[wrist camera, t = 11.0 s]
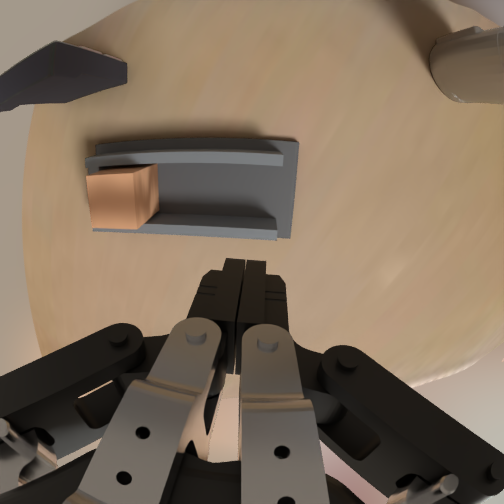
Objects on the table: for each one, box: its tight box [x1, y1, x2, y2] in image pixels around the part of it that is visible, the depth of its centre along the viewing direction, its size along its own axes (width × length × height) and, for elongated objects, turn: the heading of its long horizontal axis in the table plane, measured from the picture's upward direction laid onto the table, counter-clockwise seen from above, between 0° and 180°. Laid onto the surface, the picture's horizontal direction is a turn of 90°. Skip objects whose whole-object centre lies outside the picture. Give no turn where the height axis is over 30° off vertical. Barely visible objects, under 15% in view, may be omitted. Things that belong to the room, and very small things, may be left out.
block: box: [86, 163, 159, 230], centre depth 29 cm, size 6×6×7 cm
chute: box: [85, 138, 299, 241], centre depth 31 cm, size 12×26×5 cm, turn 87°
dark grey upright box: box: [0, 41, 127, 112], centre depth 20 cm, size 11×4×15 cm, turn 92°
